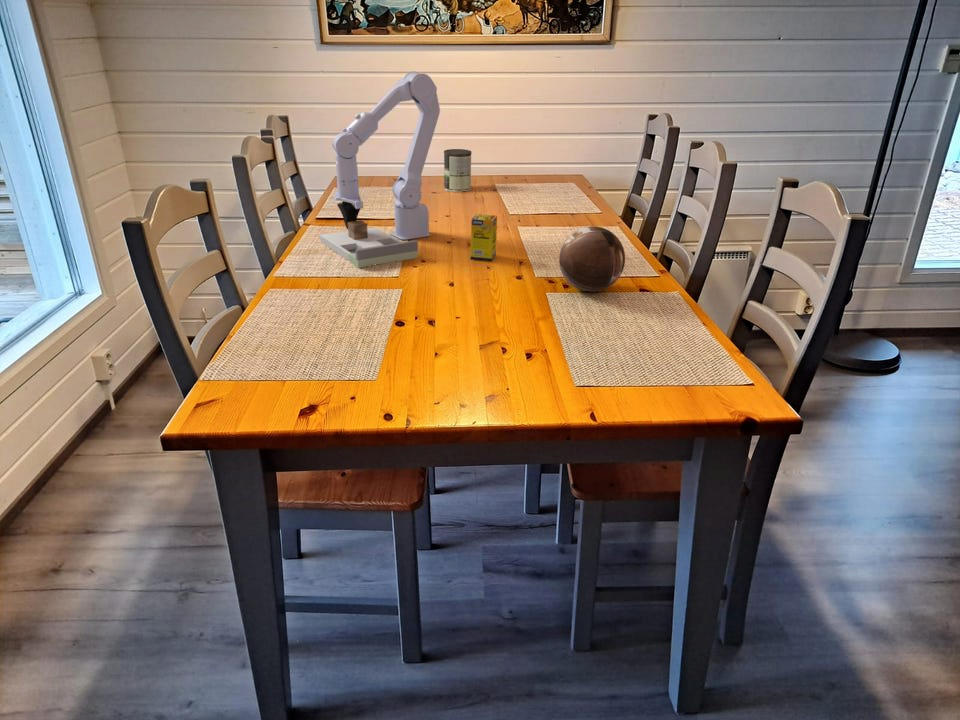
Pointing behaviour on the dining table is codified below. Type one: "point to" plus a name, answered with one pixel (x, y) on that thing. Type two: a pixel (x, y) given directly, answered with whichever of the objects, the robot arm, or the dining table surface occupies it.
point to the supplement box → (483, 237)
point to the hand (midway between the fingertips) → (350, 228)
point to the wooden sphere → (592, 259)
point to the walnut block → (357, 230)
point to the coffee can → (457, 170)
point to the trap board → (370, 248)
